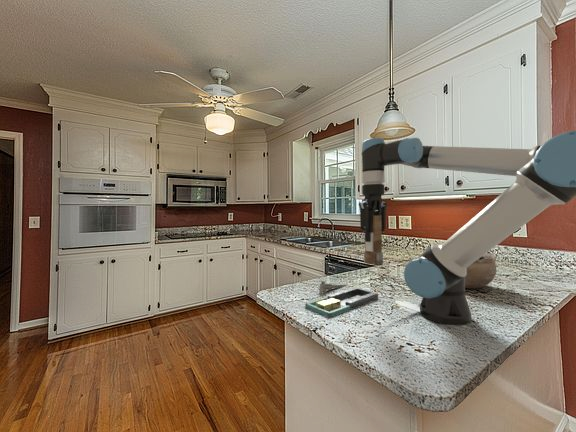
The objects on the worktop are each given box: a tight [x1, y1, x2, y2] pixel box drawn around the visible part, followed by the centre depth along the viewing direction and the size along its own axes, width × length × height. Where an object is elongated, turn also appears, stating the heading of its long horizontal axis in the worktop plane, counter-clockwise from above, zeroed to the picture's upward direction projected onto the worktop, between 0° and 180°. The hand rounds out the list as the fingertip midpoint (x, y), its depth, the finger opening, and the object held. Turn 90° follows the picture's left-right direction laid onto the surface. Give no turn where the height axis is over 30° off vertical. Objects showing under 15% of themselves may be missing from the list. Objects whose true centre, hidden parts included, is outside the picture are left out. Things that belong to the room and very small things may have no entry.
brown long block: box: [363, 215, 384, 266], centre depth 96 cm, size 6×4×17 cm, turn 38°
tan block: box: [315, 300, 333, 312], centre depth 96 cm, size 4×4×3 cm
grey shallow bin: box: [326, 286, 379, 310], centre depth 106 cm, size 12×17×3 cm
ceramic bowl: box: [465, 253, 498, 289], centre depth 125 cm, size 22×22×15 cm
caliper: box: [318, 280, 348, 295], centre depth 120 cm, size 20×1×6 cm, turn 131°
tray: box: [305, 296, 351, 318], centre depth 97 cm, size 12×10×2 cm
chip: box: [325, 298, 342, 311], centre depth 98 cm, size 4×4×3 cm
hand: (373, 250), depth 96 cm, fingers closed on brown long block, 4 cm apart
